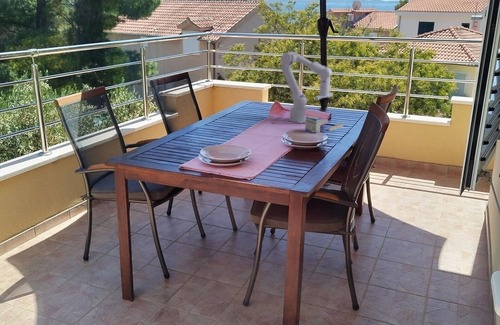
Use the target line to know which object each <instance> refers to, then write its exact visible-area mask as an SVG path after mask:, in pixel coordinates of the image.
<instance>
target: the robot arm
mask: <svg viewBox="0 0 500 325" xmlns="http://www.w3.org/2000/svg"><path fill="white" fill-rule="evenodd" d="M280 62H281V65H280V66H281V67H280V68H281V69H280V70H281V72H282V74H283V76H284V78H285V81H286V83H287V85H288V87H289V89H290V91H291V94H292V101H293V103H292V104H293V106H292V107H291V108H290V111H289V119H288V121H290V122H293V123H297V124H303V122H304V123H306V116H307V114H306V111H307V110H306V109H307V106H306V105H307V103H308V98H307V97H306V96H305V95H304V93H303V92H302V91H301V89H300V87H299V85H298V82H297V80H296V78H295V76H294V73H293V71H292V69H291V67H292V66H293V64H294V63H300V64H302V65H303V66H306V67H308V68H309V69H310V71H312V72H313V73H315V74H316V75H318V76H319V77H320V86H319V95H317V96H315V100H316V101H318V102H319V104H320V108H321V110H322V111H326V110H327V106H328V103H330V102H329V101H331V98H333V96H334V94H333V93H330V90H331V76H332V74H333V70H332V69H331V68H330V67H328V66H326V65H322V64H320V62H318V61H310V60H309V59H307V58H306V57H304V56H302V55H301V54H299V53H297V52H295V51H293V50H291V51H288V52H284V53H283V54H282V56H281V58H280Z"/></svg>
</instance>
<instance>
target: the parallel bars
mask: <svg viewBox="0 0 500 325" xmlns="http://www.w3.org/2000/svg"><path fill="white" fill-rule="evenodd" d="M328 121H329V120H328V119H323V120H321V123H320V126H323V125H325V124H328ZM341 128H344V123H343V122H342V123H339V124H336V125H332V126H329V127H328V132H331V131H334V130H337V129H341Z"/></svg>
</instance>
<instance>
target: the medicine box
mask: <svg viewBox="0 0 500 325" xmlns="http://www.w3.org/2000/svg"><path fill="white" fill-rule="evenodd" d="M305 120H306V122H305V126H304V127H305V128H304V131H305V130H306V131H305V132H308V131H315V132H318V133H320V132H321V125H320V123H321V121H322V119H321V117H317V116H314V115H313V116H312V115H308V116H307V115H306V116H305Z"/></svg>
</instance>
